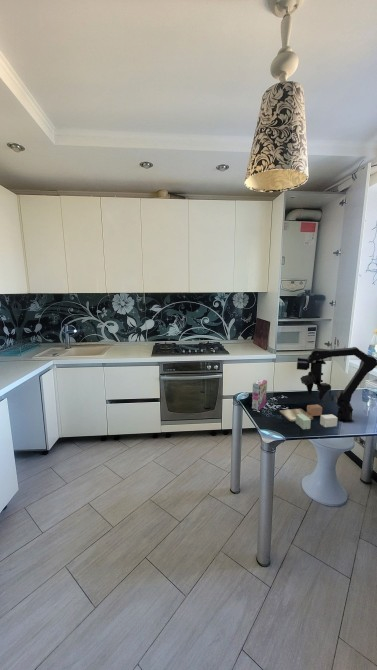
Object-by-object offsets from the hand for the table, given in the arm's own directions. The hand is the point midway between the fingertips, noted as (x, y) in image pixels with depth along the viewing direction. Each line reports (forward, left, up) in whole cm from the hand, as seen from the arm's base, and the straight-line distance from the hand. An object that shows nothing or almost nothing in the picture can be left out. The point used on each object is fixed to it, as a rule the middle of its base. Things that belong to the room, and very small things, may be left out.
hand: (314, 396), depth 149 cm
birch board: (+11, -1, -11) cm, 15 cm away
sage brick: (+14, +11, -11) cm, 21 cm away
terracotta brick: (-1, -1, -11) cm, 11 cm away
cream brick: (0, +12, -11) cm, 17 cm away
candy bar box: (+27, -16, -11) cm, 33 cm away
